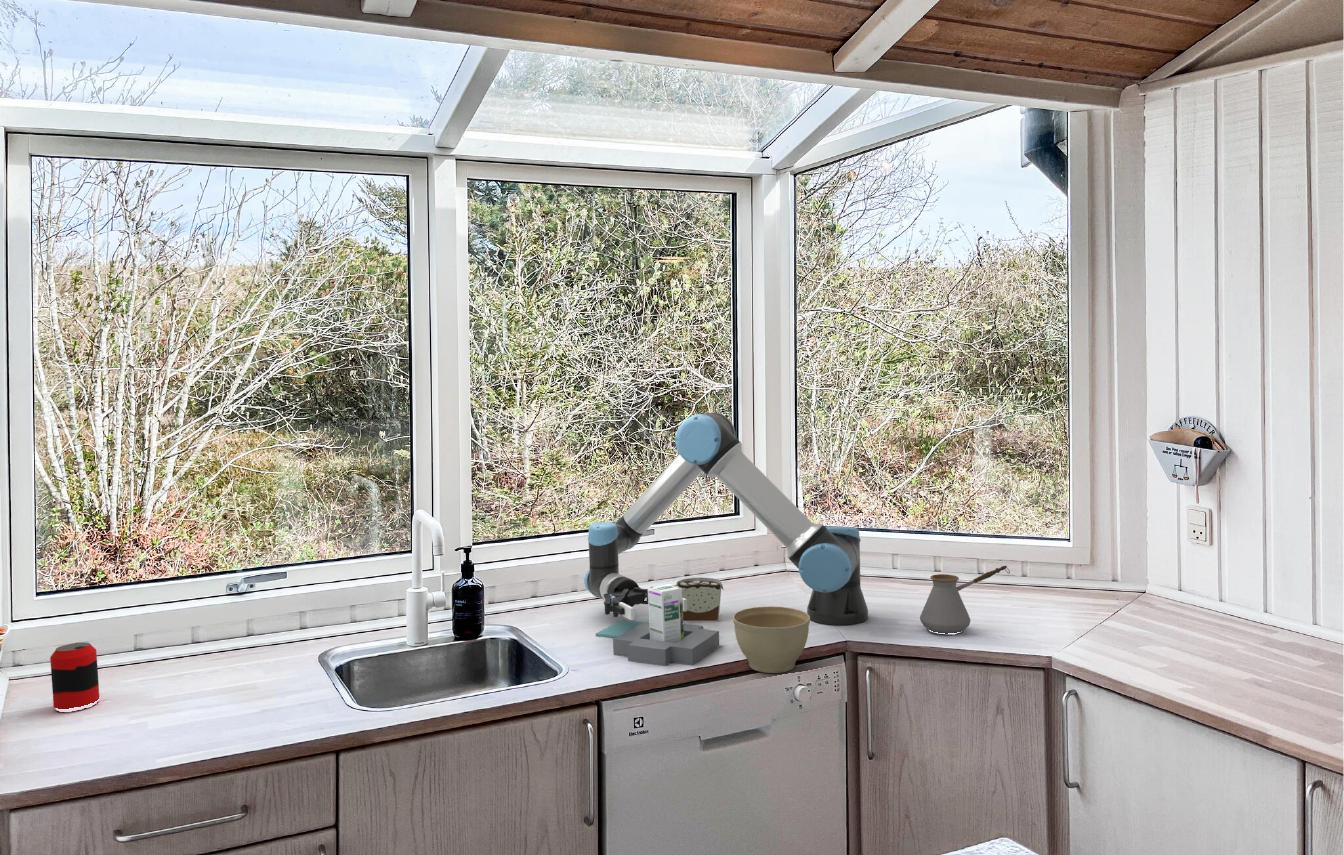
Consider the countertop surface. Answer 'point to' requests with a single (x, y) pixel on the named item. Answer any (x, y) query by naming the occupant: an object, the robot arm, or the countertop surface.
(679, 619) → the syrup box
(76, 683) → the soda can
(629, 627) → the service mat
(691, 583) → the food container
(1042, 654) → the countertop surface
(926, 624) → the coffee pot
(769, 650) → the planter bowl
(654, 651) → the frame
